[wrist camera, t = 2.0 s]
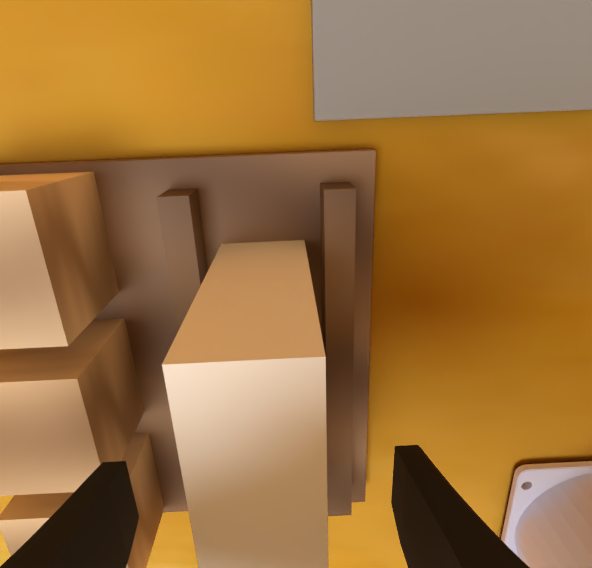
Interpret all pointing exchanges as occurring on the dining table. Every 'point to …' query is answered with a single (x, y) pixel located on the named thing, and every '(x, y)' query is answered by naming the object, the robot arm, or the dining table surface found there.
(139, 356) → the rack
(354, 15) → the mat
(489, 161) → the dining table surface
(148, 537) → the offcut
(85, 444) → the block
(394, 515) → the robot arm
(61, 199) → the offcut
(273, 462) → the cream rectangular block
